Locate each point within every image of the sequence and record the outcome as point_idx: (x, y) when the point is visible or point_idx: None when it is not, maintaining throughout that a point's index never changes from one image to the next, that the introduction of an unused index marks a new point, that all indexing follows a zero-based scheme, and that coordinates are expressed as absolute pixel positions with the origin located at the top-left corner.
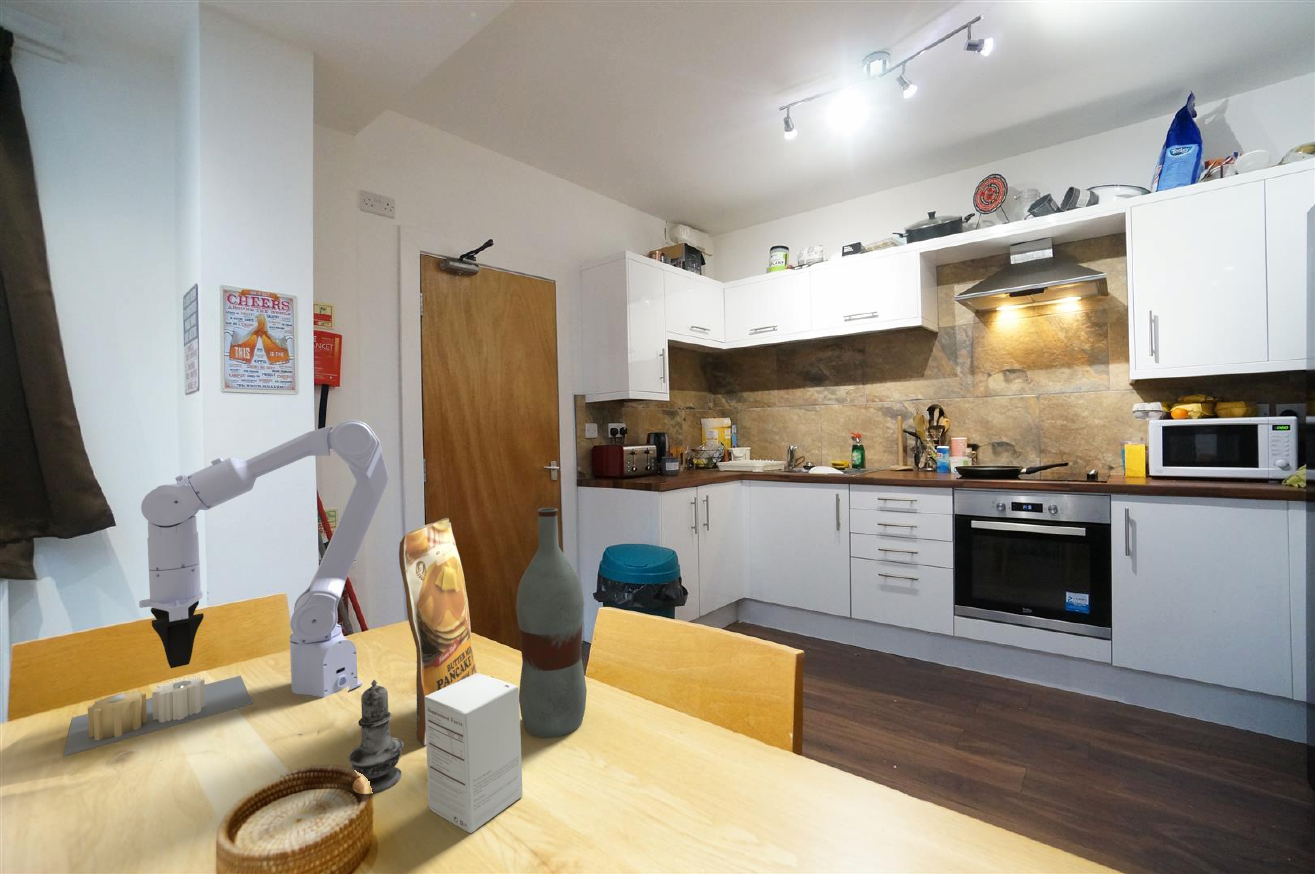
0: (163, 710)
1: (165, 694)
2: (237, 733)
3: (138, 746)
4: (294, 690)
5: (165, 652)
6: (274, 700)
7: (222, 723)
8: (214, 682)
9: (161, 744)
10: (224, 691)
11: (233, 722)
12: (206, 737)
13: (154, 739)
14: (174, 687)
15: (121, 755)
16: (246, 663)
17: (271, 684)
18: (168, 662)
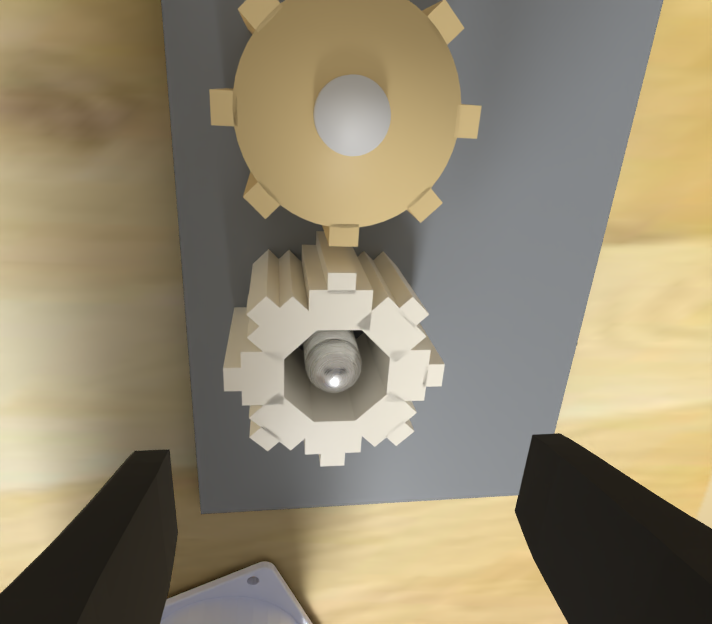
0: (250, 282)
1: (259, 321)
2: (8, 448)
3: (138, 167)
4: (195, 618)
5: (57, 541)
6: (243, 545)
7: (151, 415)
8: (551, 425)
9: (92, 239)
10: (417, 447)
11: (132, 443)
12: (46, 369)
13: (171, 220)
14: (336, 357)
15: (81, 106)
16: (695, 497)
17: (408, 544)
18: (114, 475)
